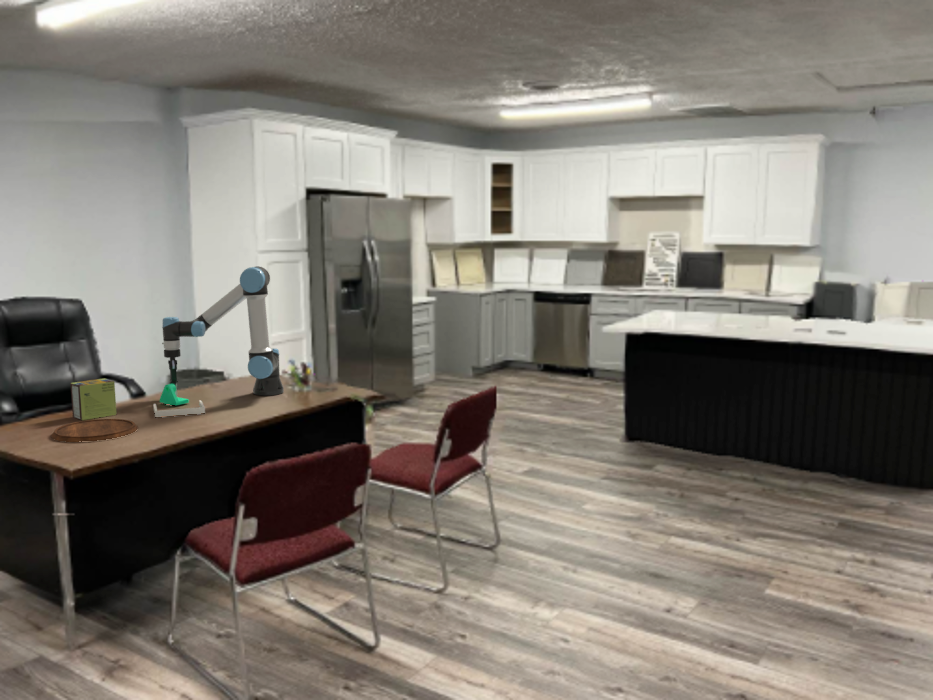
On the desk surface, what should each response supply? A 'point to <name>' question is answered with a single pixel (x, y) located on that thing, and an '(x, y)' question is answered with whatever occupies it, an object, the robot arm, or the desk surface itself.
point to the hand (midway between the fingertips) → (174, 396)
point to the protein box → (93, 399)
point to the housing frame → (180, 411)
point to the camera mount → (171, 396)
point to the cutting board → (94, 430)
